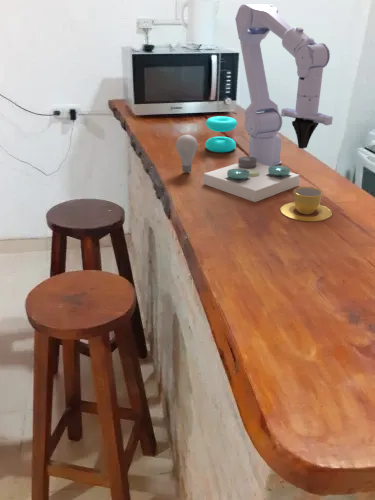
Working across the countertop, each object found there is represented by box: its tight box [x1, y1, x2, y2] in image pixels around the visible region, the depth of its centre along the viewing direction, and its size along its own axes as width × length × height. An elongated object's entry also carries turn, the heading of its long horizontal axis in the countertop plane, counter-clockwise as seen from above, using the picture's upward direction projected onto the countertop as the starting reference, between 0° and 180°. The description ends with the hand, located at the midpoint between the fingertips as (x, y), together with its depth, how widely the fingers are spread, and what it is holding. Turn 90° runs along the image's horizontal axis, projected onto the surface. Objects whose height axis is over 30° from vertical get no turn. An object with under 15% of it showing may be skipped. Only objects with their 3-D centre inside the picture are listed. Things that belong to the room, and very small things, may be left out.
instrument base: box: [203, 155, 300, 203], centre depth 136 cm, size 18×18×5 cm
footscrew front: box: [227, 169, 249, 183], centre depth 133 cm, size 6×6×5 cm
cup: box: [279, 186, 333, 222], centre depth 119 cm, size 12×12×5 cm
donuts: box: [205, 115, 238, 153], centre depth 166 cm, size 10×10×10 cm
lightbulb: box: [175, 134, 199, 174], centre depth 143 cm, size 6×6×11 cm
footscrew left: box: [268, 165, 291, 180], centre depth 135 cm, size 6×6×5 cm
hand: (302, 147), depth 136 cm, fingers closed
